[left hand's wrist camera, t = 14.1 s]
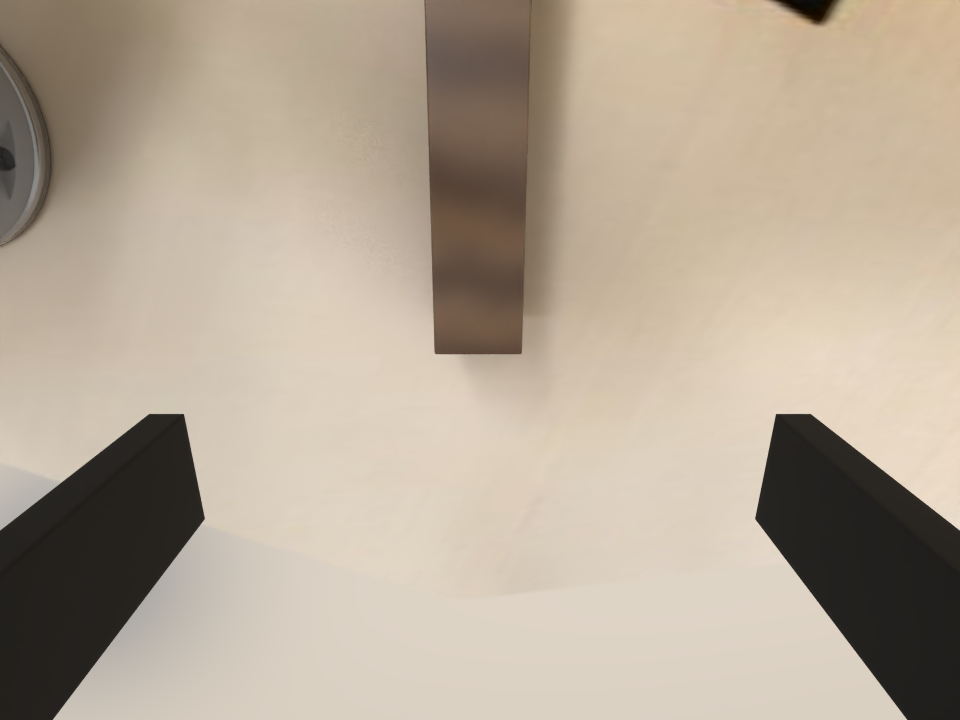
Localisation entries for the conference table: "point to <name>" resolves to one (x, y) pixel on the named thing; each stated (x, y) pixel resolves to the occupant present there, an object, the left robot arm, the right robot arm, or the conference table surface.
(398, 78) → the conference table surface
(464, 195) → the beam
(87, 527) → the left robot arm
